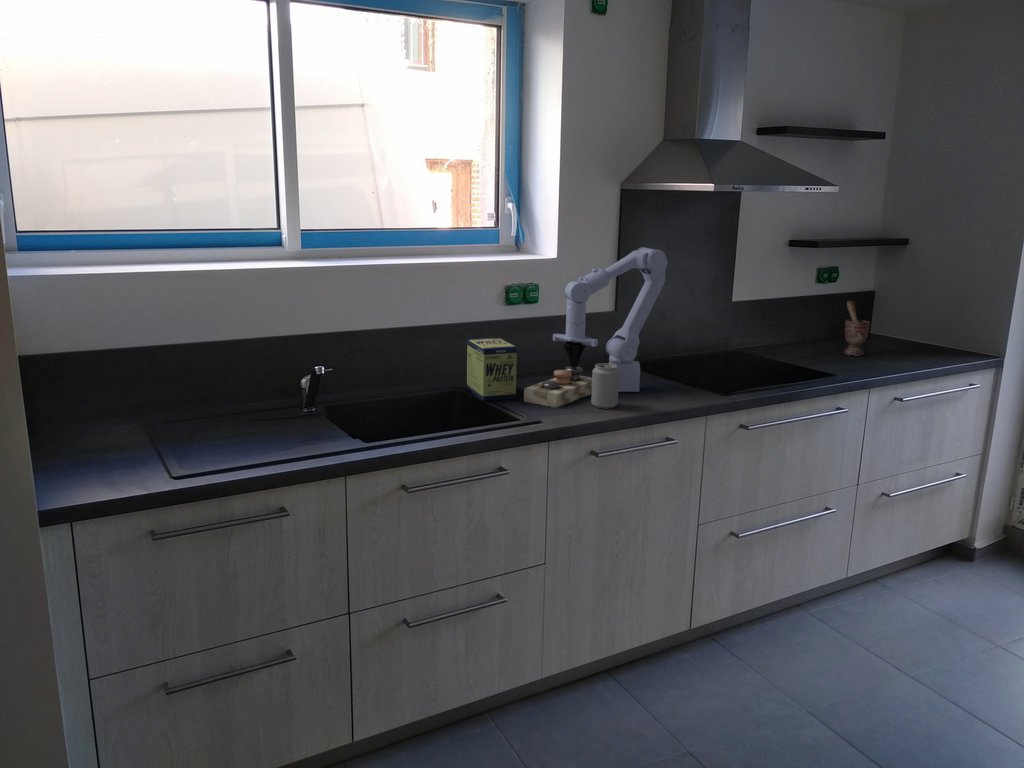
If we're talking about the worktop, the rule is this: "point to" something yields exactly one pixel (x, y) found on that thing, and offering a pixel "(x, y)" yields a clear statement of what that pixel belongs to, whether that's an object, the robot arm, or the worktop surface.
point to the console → (558, 392)
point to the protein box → (491, 368)
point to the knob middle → (562, 376)
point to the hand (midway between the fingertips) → (573, 367)
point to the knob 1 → (550, 385)
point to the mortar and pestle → (855, 332)
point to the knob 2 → (574, 373)
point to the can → (605, 386)
